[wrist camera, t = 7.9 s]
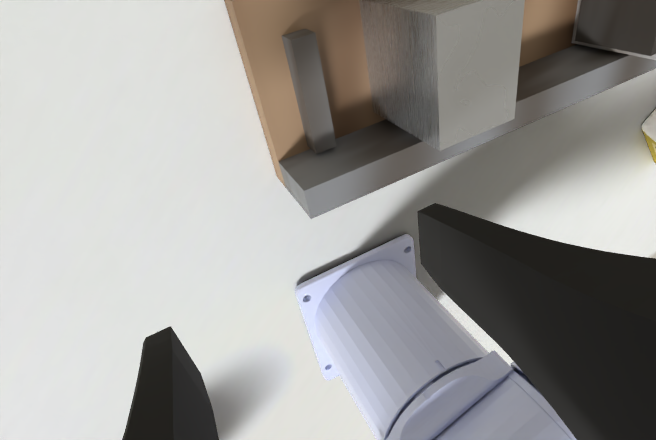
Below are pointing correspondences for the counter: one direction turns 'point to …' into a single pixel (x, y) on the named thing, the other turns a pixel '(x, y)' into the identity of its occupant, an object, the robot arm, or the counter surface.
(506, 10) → the matte gray brick
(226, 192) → the counter surface
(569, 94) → the rail
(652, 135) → the juice carton
